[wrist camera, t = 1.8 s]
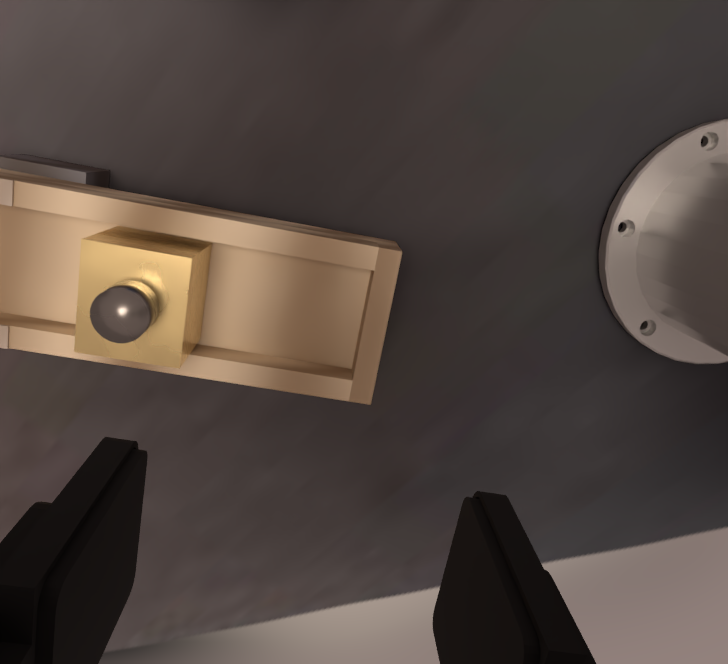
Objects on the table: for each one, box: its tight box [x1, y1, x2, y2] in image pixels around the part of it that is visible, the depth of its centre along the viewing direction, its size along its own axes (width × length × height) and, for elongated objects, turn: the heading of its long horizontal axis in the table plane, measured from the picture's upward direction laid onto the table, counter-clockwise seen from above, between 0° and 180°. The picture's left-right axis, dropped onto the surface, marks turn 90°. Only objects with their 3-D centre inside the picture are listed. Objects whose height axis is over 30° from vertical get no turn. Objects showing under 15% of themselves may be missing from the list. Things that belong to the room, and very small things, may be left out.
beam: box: [0, 154, 402, 405], centre depth 28 cm, size 32×8×6 cm, turn 79°
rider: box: [74, 226, 212, 369], centre depth 24 cm, size 4×4×6 cm
